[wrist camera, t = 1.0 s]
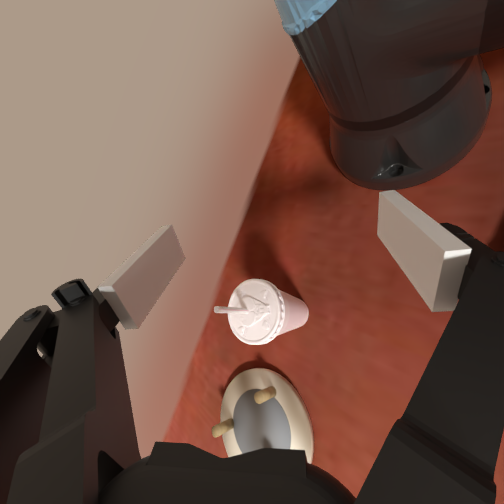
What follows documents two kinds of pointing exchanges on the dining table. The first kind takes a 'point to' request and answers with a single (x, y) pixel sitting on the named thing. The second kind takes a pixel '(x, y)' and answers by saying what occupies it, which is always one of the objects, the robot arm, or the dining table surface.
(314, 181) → the dining table surface
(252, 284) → the smoothie
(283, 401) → the cup holder base
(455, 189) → the dining table surface
